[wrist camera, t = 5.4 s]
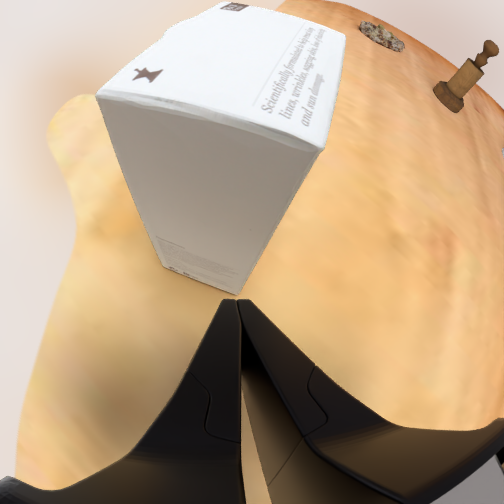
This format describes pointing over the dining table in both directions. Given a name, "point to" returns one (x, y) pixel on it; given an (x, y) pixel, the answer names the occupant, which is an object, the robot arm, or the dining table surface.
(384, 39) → the mineral rock
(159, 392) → the dining table surface
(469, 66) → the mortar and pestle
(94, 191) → the dining table surface
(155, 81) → the skincare box
